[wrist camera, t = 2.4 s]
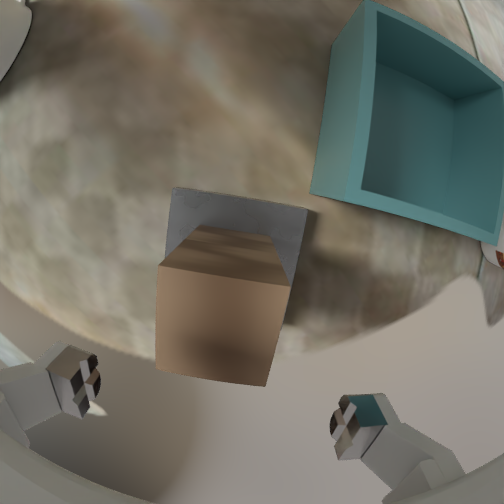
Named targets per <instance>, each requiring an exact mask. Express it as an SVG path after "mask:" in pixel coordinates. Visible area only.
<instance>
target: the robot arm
mask: <svg viewBox="0 0 504 504" xmlns="http://www.w3.org/2000/svg"><path fill="white" fill-rule="evenodd" d="M31 19H32V12H31V10H30V8H28V7H27V6H25V0H0V81H1V79H2V78H3V77H4V75H5V74H6V72H7V71H8V69H9V68H10V66H11V64H12V63H13V61H14V59H15V58H16V56H17V54H18V52H19V50H20V48H21V46H22V44H23V42H24V40H25V38H26V35H27V33H28V30H29V27H30V24H31ZM97 365H98V360H97V356H96V355H95V354H93V353H90V352H87V351H85V350H82V349H80V348H77V347H75V346H72V345H69V344H67V343H64V342H62V341H57V342H56V343H55V344H54V345H52V346H51V347H50V348H49V349H48V350H47V351H46V352H45V353H44V354H43V355H42V356H41V357H40V358H39V359H38V360H37V361H36V362H35V363H34V364H33V363H31V362H29V363H25V364H21V365H17V366H13V367H9V368H5V369H1V370H0V504H155V503H151V502H148V501H144V500H141V499H137V498H134V497H131V496H128V495H125V494H122V493H119V492H116V491H114V490H111V489H108V488H106V487H103V486H101V485H98V484H96V483H93V482H91V481H89V480H86V479H84V478H82V477H80V476H78V475H75V474H74V473H71V472H69V471H67V470H65V469H63V468H61V467H60V466H58V465H55V464H54V463H52V462H50V461H49V460H47V459H45V458H43V457H42V456H40V455H38V454H37V453H35V452H33V451H32V450H30V449H29V446H30V442H29V440H28V438H27V437H26V435H25V433H24V430H27V429H29V428H31V427H33V426H35V425H37V424H39V423H41V422H43V421H45V420H47V419H49V418H51V417H52V416H55V415H57V414H59V413H61V412H62V411H63V412H66V413H68V414H71V415H73V416H75V417H78V418H80V419H83V417H84V416H85V414H86V413H87V411H88V409H89V408H90V404H89V401H91V400H93V399H95V398H96V397H97V395H98V393H99V390H100V386H101V377H100V373H99V372H98V371H97V369H96V367H97ZM338 404H339V407H340V408H339V409H338V410H336V411H334V413H333V415H332V417H331V420H330V433H331V436H332V438H334V439H335V440H336V441H337V442H336V444H335V445H334V448H335V451H336V454H337V458H338V460H351V459H361V461H362V462H363V463H364V464H365V465H366V466H367V467H369V469H371V470H372V471H373V472H374V473H375V474H376V475H377V476H378V477H379V478H380V479H381V480H382V481H383V482H384V483H386V484H387V485H388V486H389V487H390V488H391V489H392V491H391V492H390V493H389V494H388V495H386V496H385V497H384V499H383V500H382V502H383V504H504V453H503V454H502V455H500V456H498V457H497V458H495V459H494V460H492V461H490V462H488V463H487V464H485V465H483V466H481V467H479V468H477V469H475V470H473V471H472V472H470V473H467V474H465V472H464V470H463V469H462V467H461V465H460V463H459V462H458V460H457V458H456V457H455V455H454V453H453V452H452V450H450V449H448V448H446V447H444V446H443V445H441V444H439V443H437V442H435V441H434V440H432V439H431V438H429V437H427V436H426V435H424V434H422V433H420V432H419V431H417V430H415V429H414V428H412V427H411V426H409V425H408V424H406V423H401V422H400V420H399V418H398V416H397V415H396V413H395V411H394V409H393V407H392V405H391V404H390V402H389V400H388V399H387V397H386V395H385V394H383V393H377V394H361V395H343V396H342V397H341V399H340V401H339V403H338Z"/></svg>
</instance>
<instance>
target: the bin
mask: <svg viewBox="0 0 504 504" xmlns="http://www.w3.org/2000/svg"><path fill="white" fill-rule="evenodd" d="M310 194H314V195H319V196H323V197H328V198H332V199H337V200H341V201H345V202H349V203H353V204H358V205H362V206H366V207H370V208H374V209H378V210H381V211H385V212H389V213H393V214H396V215H400V216H404V217H407V218H411V219H414V220H418V221H421V222H424V223H428V224H431V225H434V226H437V227H441V228H444V229H447V230H450V231H453V232H456V233H459V234H462V235H465V236H468V237H471V238H474V239H477V240H480V241H483V242H485V243H488V244H491V245H493V246H496V247H497V243H498V239H499V234H500V230H501V224H502V219H503V213H504V82H503V81H502V80H501V79H500V78H499V77H498V76H497V75H495V74H494V73H493V72H492V71H491V70H489V69H488V68H487V67H486V66H484V65H483V64H482V63H481V62H479V61H478V60H477V59H475V58H474V57H473V56H471V55H470V54H469V53H467V52H466V51H464V50H463V49H461V48H460V47H459V46H457V45H456V44H454V43H453V42H451V41H449V40H448V39H446V38H445V37H443V36H441V35H440V34H438V33H437V32H435V31H433V30H431V29H430V28H428V27H426V26H424V25H422V24H421V23H419V22H417V21H415V20H413V19H411V18H409V17H407V16H405V15H403V14H401V13H399V12H397V11H395V10H392V9H390V8H388V7H386V6H383V5H381V4H378V3H376V2H374V1H371V0H363V1H362V3H361V4H360V5H359V7H358V8H357V10H356V11H355V12H354V14H353V15H352V17H351V18H350V19H349V21H348V22H347V24H346V25H345V27H344V28H343V29H342V31H341V32H340V34H339V35H338V37H337V38H336V40H335V41H334V43H333V44H332V47H331V56H330V64H329V72H328V80H327V88H326V95H325V102H324V109H323V116H322V122H321V129H320V135H319V141H318V147H317V153H316V159H315V165H314V171H313V176H312V182H311V187H310Z"/></svg>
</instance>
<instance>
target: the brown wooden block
mask: <svg viewBox="0 0 504 504" xmlns="http://www.w3.org/2000/svg"><path fill="white" fill-rule="evenodd" d="M290 288H291V286H290V283H289V281H288V279H287V276H286V274H285V271H284V269H283V266H282V264H281V261H280V259H279V256H278V254H277V252H276V249H275V247H274V244H273V242H272V239H271V237H270V236H267V235H261V234H255V233H249V232H242V231H236V230H230V229H224V228H218V227H211V226H205V225H199V226H198V227H197V228H196V229H195V230H194V231H193V232H192V233H191V234H190V235H188V236H187V237H186V238H185V239H184V240H183V241H182V242H181V243H180V244H179V245H178V246H177V247H176V248H175V249H174V250H173V251H172V252H171V253H170V254H169V255H168V256H167V257H166V258H165V259H164V260H163V261H162V262H161V263H160V264H159V265H158V277H157V296H156V369H158V370H162V371H167V372H171V373H176V374H181V375H186V376H192V377H197V378H203V379H209V380H215V381H221V382H228V383H236V384H244V385H253V386H263V387H265V386H266V382H267V379H268V375H269V371H270V368H271V364H272V360H273V357H274V353H275V349H276V345H277V341H278V338H279V334H280V330H281V326H282V322H283V318H284V314H285V310H286V305H287V301H288V297H289V293H290Z"/></svg>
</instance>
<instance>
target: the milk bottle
mask: <svg viewBox="0 0 504 504" xmlns="http://www.w3.org/2000/svg"><path fill="white" fill-rule="evenodd" d="M481 248H482V251H483V254H484V256H485V257H486V259H487V260H488V261H489V262H490V263H492V264H494V265H496V266H498V267H500V268H503V269H504V213H503V219H502V224H501V230H500V234H499V239H498V243H497V247H496V246H493V245H491V244H488V243H485V242H483V241H481Z"/></svg>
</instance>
